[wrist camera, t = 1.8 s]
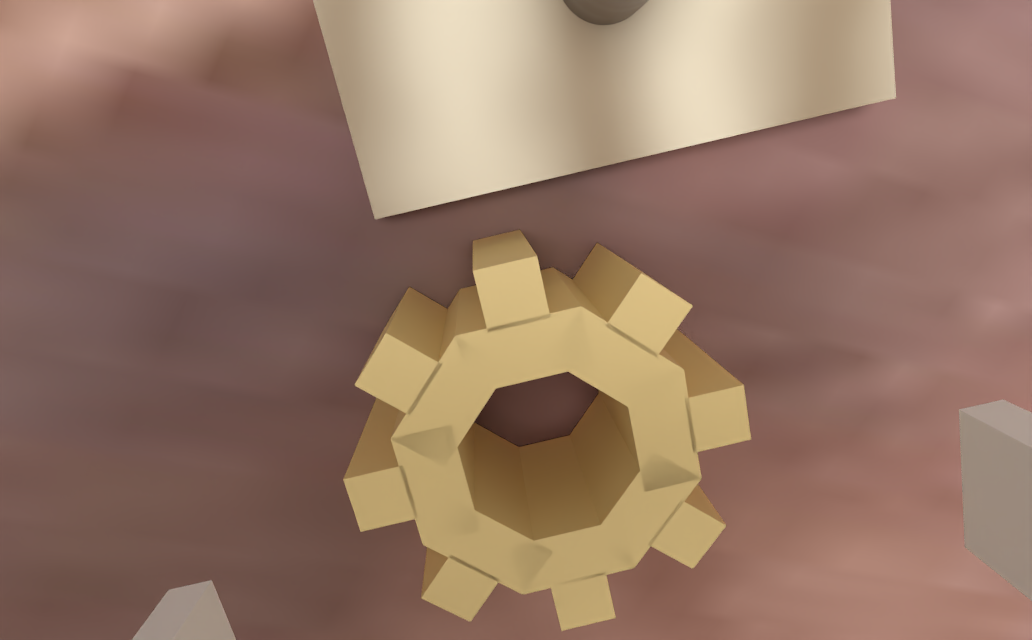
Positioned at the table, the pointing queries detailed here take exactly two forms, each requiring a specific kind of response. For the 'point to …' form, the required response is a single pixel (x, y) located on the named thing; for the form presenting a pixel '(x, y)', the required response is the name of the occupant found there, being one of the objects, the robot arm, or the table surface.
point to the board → (582, 82)
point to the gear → (549, 464)
